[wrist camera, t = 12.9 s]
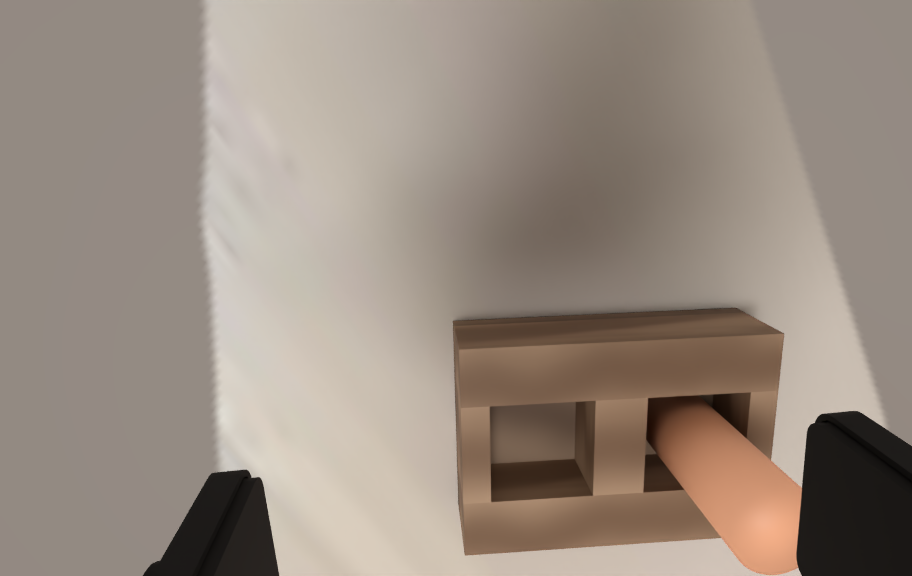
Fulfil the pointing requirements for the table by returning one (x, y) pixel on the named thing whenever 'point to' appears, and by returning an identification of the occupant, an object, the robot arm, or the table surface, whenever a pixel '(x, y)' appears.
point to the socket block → (596, 421)
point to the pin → (728, 481)
